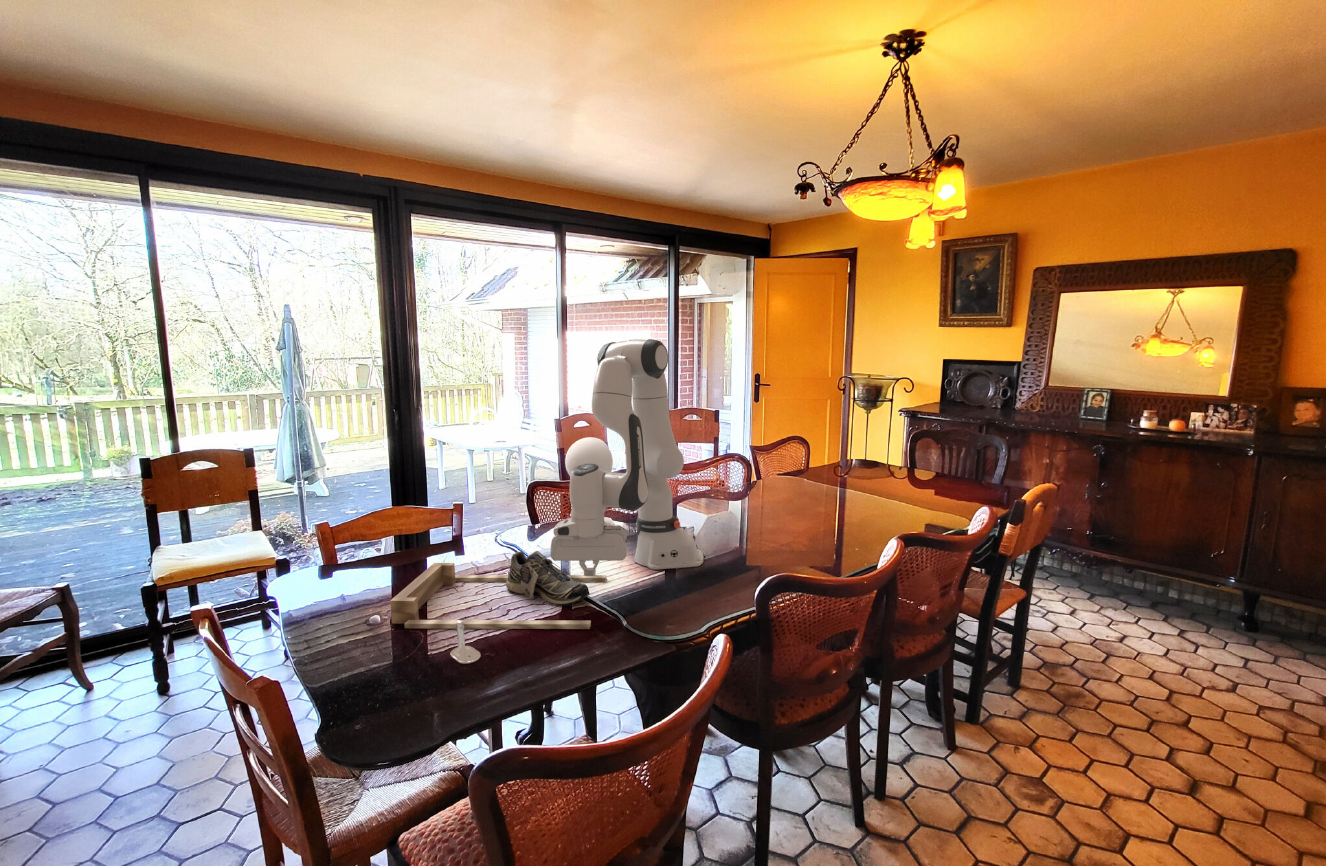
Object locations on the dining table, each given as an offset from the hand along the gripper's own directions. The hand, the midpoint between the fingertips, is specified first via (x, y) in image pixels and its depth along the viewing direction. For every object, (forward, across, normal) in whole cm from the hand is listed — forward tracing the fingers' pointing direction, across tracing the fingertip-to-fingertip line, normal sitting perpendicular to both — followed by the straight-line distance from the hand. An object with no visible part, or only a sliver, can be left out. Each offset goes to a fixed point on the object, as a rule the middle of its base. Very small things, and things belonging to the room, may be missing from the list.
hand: (589, 575), depth 156 cm
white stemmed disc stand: (+7, +24, +28) cm, 38 cm away
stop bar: (+7, +45, +1) cm, 46 cm away
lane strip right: (+7, +21, -14) cm, 26 cm away
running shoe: (+8, +13, -4) cm, 16 cm away
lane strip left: (+7, +21, +15) cm, 27 cm away
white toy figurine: (+8, +12, -64) cm, 66 cm away
